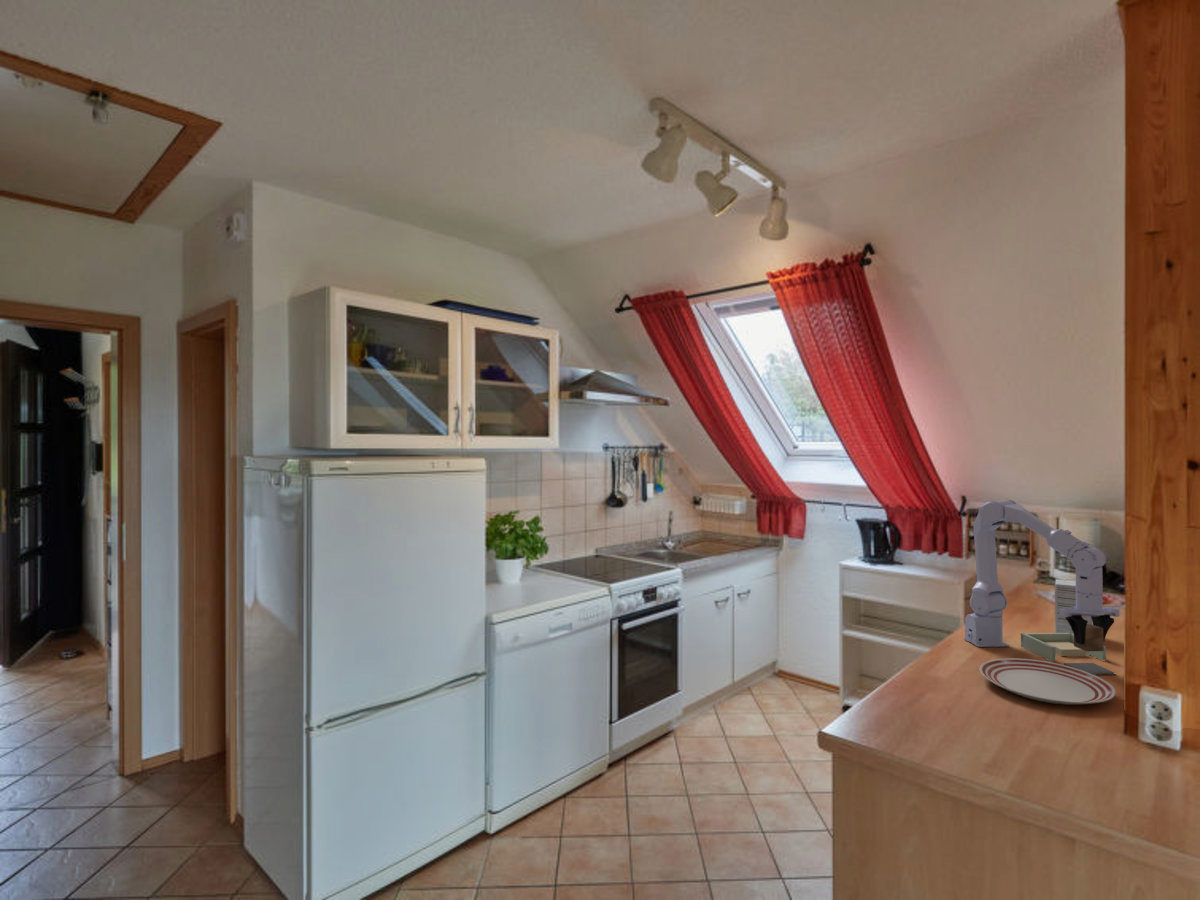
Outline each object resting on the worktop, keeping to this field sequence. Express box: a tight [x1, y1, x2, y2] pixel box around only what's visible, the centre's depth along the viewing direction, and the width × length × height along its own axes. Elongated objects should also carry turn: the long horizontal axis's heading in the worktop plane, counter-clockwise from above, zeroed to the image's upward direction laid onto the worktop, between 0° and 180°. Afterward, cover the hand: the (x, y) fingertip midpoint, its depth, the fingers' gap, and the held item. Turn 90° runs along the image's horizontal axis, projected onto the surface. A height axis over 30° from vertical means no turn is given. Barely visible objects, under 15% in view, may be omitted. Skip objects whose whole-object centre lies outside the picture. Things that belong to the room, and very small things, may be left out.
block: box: [1074, 623, 1105, 651], centre depth 168 cm, size 4×4×6 cm
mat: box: [1063, 662, 1115, 676], centre depth 168 cm, size 8×8×1 cm
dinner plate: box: [979, 657, 1117, 705], centre depth 155 cm, size 27×27×3 cm
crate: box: [1020, 632, 1107, 663], centre depth 181 cm, size 15×13×4 cm
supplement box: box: [1054, 578, 1093, 633], centre depth 197 cm, size 10×9×17 cm
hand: (1089, 643), depth 168 cm, fingers closed on block, 4 cm apart
